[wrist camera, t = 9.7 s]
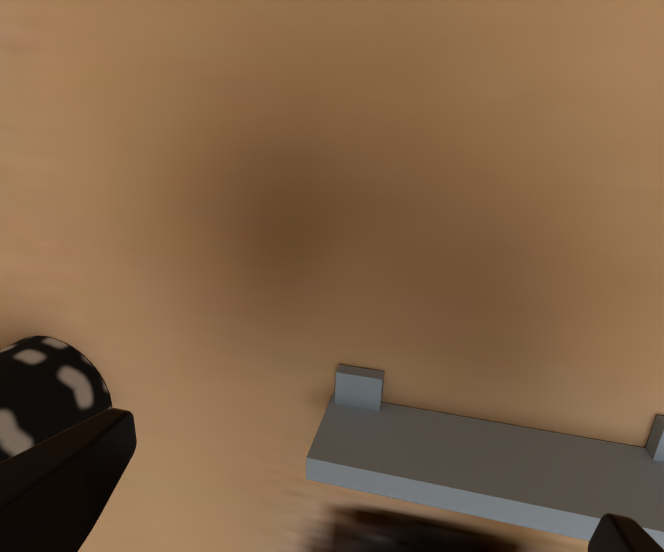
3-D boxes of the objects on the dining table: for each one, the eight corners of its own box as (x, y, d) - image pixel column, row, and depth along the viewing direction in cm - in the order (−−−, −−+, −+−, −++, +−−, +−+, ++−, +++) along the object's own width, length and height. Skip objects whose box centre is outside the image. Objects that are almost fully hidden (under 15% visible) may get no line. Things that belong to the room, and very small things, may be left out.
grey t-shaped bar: (724, 425, 19) (813, 517, 15) (689, 510, 21) (759, 617, 16) (333, 363, 23) (307, 422, 19) (330, 439, 25) (305, 511, 20)
